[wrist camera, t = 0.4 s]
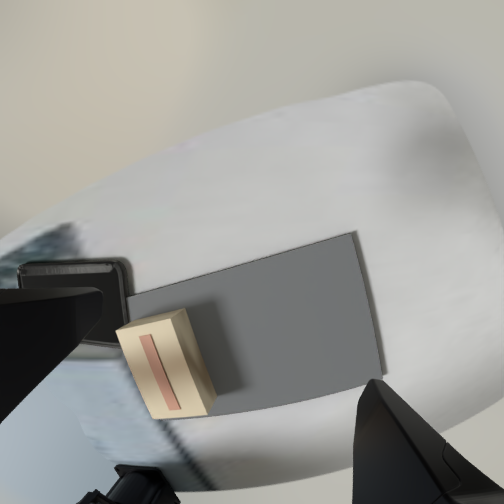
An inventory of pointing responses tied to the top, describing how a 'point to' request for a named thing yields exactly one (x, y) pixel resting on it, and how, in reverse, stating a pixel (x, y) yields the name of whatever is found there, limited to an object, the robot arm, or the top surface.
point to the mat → (277, 326)
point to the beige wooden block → (168, 365)
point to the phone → (87, 275)
